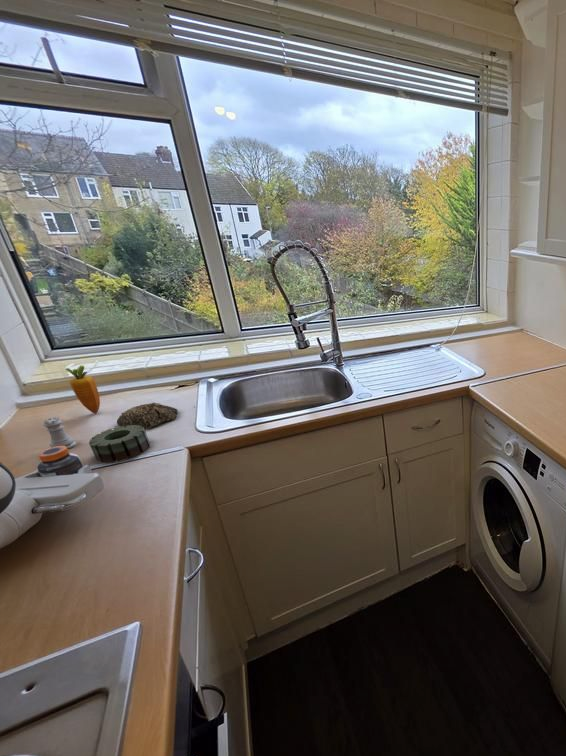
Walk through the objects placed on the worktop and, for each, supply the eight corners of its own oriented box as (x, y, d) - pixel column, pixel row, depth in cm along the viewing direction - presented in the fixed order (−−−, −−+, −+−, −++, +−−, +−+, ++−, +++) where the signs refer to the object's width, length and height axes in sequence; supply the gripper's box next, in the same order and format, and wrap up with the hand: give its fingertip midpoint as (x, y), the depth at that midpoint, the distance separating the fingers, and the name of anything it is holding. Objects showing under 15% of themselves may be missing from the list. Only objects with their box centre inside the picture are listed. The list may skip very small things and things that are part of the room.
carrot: (79, 416, 118) (57, 368, 112) (97, 408, 122) (77, 362, 116) (93, 418, 117) (72, 369, 111) (111, 410, 122) (92, 363, 116)
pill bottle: (94, 483, 90) (73, 439, 86) (94, 495, 87) (73, 450, 82) (55, 494, 87) (31, 449, 82) (54, 508, 83) (29, 462, 78)
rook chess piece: (51, 447, 103) (37, 419, 100) (76, 440, 106) (63, 413, 103) (52, 454, 100) (37, 425, 97) (77, 447, 103) (64, 419, 100)
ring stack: (94, 467, 96) (86, 450, 94) (99, 448, 103) (92, 432, 101) (149, 453, 101) (142, 437, 99) (150, 437, 108) (144, 421, 107)
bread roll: (111, 426, 113) (104, 410, 111) (157, 407, 124) (151, 392, 122) (145, 433, 110) (138, 417, 108) (189, 413, 121) (184, 398, 119)
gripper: (63, 495, 73) (117, 452, 85) (-76, 506, 70) (1, 460, 82) (78, 522, 76) (128, 477, 88) (-56, 534, 72) (16, 486, 85)
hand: (66, 469), depth 85 cm, fingers closed on pill bottle, 6 cm apart
